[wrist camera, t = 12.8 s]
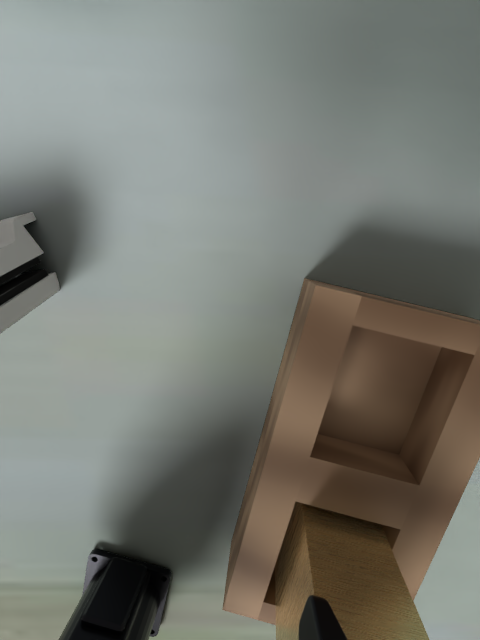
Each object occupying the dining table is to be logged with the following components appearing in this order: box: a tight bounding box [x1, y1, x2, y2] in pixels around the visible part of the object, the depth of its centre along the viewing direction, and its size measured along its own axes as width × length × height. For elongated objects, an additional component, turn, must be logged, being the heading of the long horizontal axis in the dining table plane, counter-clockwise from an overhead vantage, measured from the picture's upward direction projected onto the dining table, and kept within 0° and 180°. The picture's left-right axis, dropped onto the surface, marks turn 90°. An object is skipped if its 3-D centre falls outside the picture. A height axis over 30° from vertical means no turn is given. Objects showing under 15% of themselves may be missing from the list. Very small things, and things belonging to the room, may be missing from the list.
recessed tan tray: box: [223, 278, 480, 625], centre depth 18 cm, size 20×10×4 cm, turn 167°
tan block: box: [275, 502, 429, 640], centre depth 15 cm, size 6×4×9 cm
